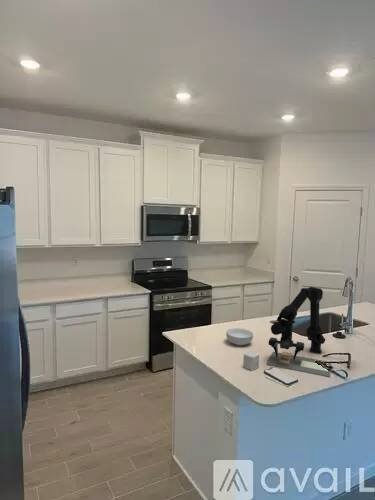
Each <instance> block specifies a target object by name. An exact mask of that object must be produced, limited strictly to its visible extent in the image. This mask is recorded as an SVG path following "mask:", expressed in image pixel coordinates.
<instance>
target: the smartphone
mask: <svg viewBox="0 0 375 500" xmlns="http://www.w3.org/2000/svg"><path fill="white" fill-rule="evenodd" d="M263 373H264V375H266V376H268V377H270V378H272V379H274V380H275V381H277V380H278V382H279V383H281V382H282V383H281V384H283V385H284V386H291V385H294V384H297V383H298V382H299V379H298V378H297V377H295V376H293V375H291V374H289V373H287V372H285V371H283V370H281V369H279V368H278V367H275V366H272V367H270V368H268V369H264V370H263Z"/></svg>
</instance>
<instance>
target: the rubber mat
mask: <svg viewBox="0 0 375 500" xmlns="http://www.w3.org/2000/svg"><path fill="white" fill-rule="evenodd" d="M281 354H282V352H278V357H276V353H275V351H272V353H271V355H270V357H269V358H268V361H267V363H266V365H267V366H269V367H270V366H271V367H275V368H280V369H287V370H291V371H296V372H301V373H306V374H309V375H310V374H311V375H315V376H322V377H326V378H327V377H328V378H331V371H328V370H327V369H325V368H323V367H322V366H321V365H318V364H317V363H315V362H314V361H315V360H316V361H322V362H329V361H327V360H321V359H318V358H317V359H316V358H310V357H305V356H300V355H296V357H295V360H294V354H291V360H290V362H289V365H284V364H279V359H280V356H281ZM327 366H332V362H331V363H328V364H327Z"/></svg>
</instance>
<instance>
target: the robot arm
mask: <svg viewBox="0 0 375 500" xmlns="http://www.w3.org/2000/svg"><path fill="white" fill-rule="evenodd" d="M323 296H324V292H323V289H322V288H320V287H319V288H318V287H314V286H309V287H303V288H301V289H300V291H299V293H298V294H297V295H296V296H295V297H294V299H293V300H292V301H291V303H290V304H288V305H285V306H284V307H282V309H281V310H280V313H279V314H278V317H277V318H276V321H274V322H273V324H272V325H270V326H271V327H270V331H271V333H272V334H273V335H275V336H278V335H281V337H280V339H279V340H278V338H277V337H270V338H269V339H268V345H269V346H270V347H271V348H273V350H274V352H275V353H276V357H278V353H279V350H278V348H280V349H282V350H289V349H290V348H295V349H294V353H293V355H294V360H295V357H296V356H298V353H301V352H302V351H304V349H305V343H304V342H301V341H296V342H294V340H293V328H294V327H293V326H294V324H296V321H295V319H296V317H297V316H298V310H299V309H300V308H301V306H302V305H303V304H304V303H305V302H306V300H308V301H309V303H310V304H309V305H310V306H309V307H310V308H309V309H310V310H309V312H310V313H309V315H310V316H309V326H308V327H307V328H306V333H305V334H306V336H307V341H311V342H310V347H309V352H310V353H316V354H318V355H319V354H320V355H321V354H322V345H324V343H326V338H325V337H324V335H323V330H322V328H321V326H320V302H321V301H322V299H323ZM278 346H279V347H278Z"/></svg>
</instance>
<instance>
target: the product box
mask: <svg viewBox="0 0 375 500" xmlns="http://www.w3.org/2000/svg"><path fill="white" fill-rule="evenodd" d="M242 363H243V366H242V367H243V368H245V369H247V370H250V371H255V370H257V369H258V368H260V354H259V353H256V352H253V351H248V352H245V353H244V354H243V362H242Z"/></svg>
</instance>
